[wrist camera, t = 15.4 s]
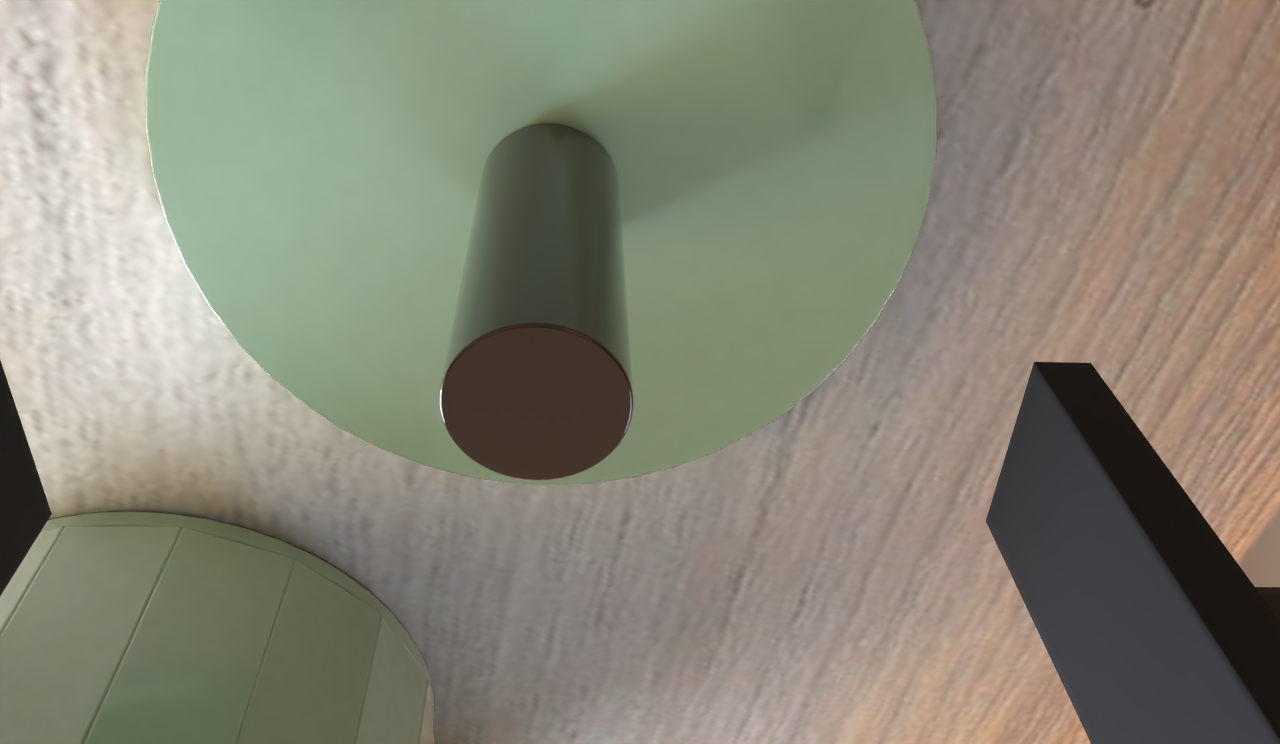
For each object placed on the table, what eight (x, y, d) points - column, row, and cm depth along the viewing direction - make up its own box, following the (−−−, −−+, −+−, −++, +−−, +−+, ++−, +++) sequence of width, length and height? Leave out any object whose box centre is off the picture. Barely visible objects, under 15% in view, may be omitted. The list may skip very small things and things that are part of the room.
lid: (80, -294, 16) (-272, -255, 10) (1001, -242, 17) (1267, -172, 11) (233, 449, 25) (100, 752, 18) (855, 457, 26) (953, 747, 19)
